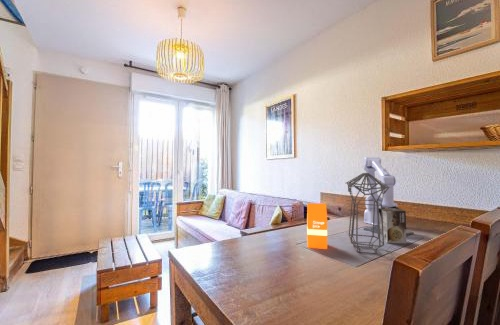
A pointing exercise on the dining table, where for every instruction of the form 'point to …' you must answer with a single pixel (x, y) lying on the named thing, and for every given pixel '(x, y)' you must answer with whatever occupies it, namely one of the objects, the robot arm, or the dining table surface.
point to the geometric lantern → (366, 204)
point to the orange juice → (316, 226)
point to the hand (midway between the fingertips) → (388, 220)
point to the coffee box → (394, 225)
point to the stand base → (381, 230)
